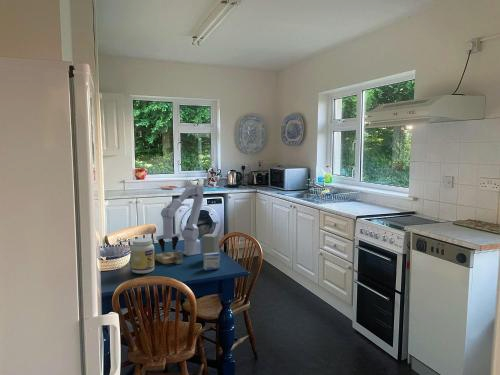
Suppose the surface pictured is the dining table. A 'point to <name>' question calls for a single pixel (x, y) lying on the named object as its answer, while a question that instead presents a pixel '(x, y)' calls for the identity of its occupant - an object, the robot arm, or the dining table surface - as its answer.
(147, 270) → the supplement tub
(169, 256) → the green-striped tan block
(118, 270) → the dining table surface
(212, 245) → the skincare box
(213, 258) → the medicine box
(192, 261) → the dining table surface
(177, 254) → the column
